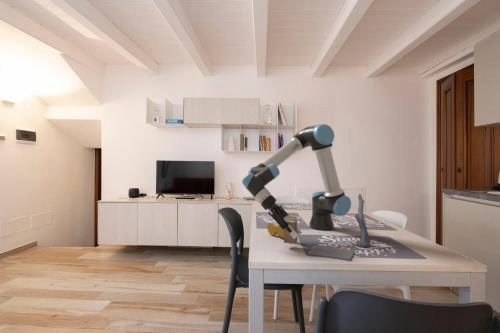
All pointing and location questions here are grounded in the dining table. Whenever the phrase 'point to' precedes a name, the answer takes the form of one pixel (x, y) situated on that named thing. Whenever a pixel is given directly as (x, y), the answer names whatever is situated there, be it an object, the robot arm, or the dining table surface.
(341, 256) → the charcoal rubber mat
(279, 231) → the decorative fish
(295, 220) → the walnut block
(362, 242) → the antler
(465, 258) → the dining table surface
